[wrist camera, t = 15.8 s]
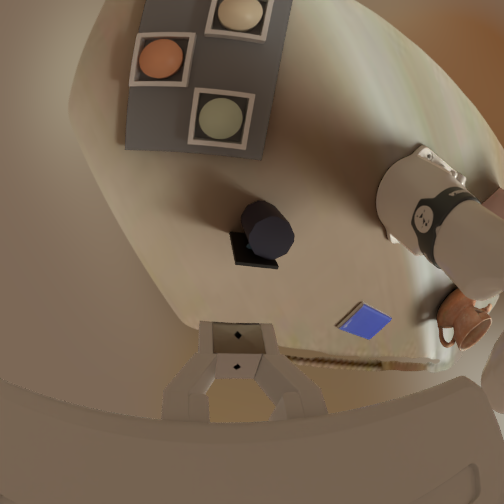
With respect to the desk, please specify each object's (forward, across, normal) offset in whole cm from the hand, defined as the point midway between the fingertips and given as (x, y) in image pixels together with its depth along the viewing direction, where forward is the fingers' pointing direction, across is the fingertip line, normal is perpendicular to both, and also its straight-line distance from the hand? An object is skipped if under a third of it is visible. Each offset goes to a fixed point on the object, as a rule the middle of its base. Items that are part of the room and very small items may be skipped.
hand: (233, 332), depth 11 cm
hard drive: (+30, -36, +31) cm, 56 cm away
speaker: (+29, -6, +8) cm, 31 cm away
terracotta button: (+27, +9, -13) cm, 31 cm away
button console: (+29, +4, -13) cm, 32 cm away
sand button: (+27, +1, -20) cm, 33 cm away
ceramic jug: (+29, -66, +26) cm, 77 cm away
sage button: (+27, +1, -6) cm, 27 cm away
